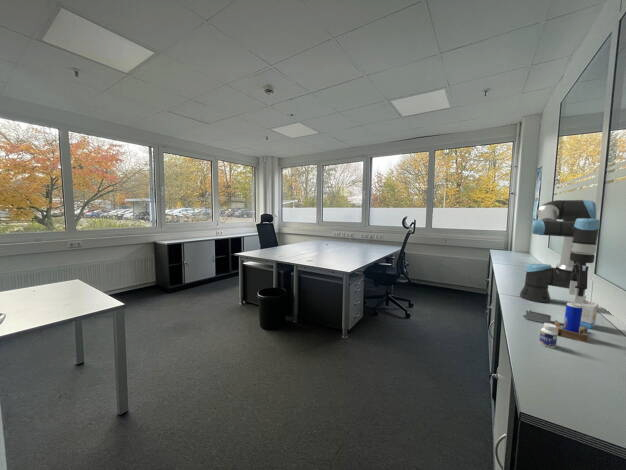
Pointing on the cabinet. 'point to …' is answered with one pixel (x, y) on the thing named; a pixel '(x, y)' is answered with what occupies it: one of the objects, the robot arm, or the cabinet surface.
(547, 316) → the latch block with knob
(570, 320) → the beverage can
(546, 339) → the pill bottle
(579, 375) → the cabinet surface
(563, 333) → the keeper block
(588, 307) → the ink box
